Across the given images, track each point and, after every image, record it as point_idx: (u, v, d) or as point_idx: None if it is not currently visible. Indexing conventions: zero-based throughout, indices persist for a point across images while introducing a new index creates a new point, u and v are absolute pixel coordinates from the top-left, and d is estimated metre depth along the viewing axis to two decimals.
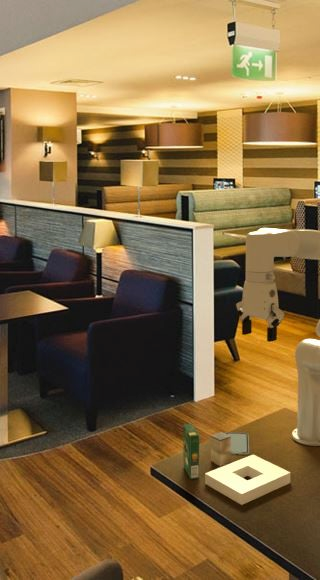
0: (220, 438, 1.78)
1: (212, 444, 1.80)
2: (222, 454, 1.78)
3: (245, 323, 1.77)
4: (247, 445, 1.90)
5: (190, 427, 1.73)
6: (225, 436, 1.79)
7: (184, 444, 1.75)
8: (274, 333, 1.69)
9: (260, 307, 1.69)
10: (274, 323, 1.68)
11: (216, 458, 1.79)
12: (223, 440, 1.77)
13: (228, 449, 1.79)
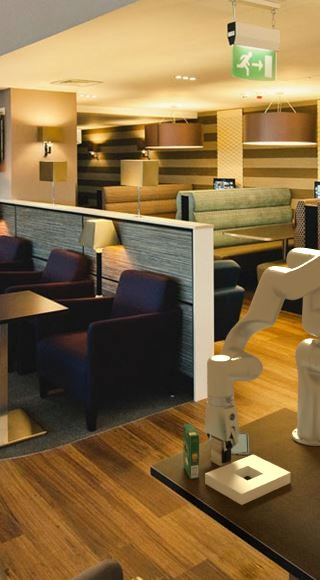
0: None
1: (212, 444, 1.80)
2: None
3: None
4: (247, 445, 1.90)
5: (190, 427, 1.73)
6: None
7: (184, 444, 1.75)
8: (228, 455, 1.78)
9: (221, 429, 1.75)
10: (228, 447, 1.76)
11: (216, 458, 1.79)
12: None
13: None
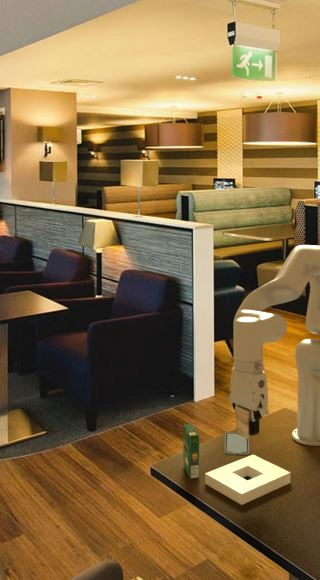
0: None
1: (238, 414, 1.64)
2: None
3: None
4: (247, 445, 1.90)
5: (190, 427, 1.73)
6: None
7: (184, 444, 1.75)
8: (256, 427, 1.62)
9: (249, 398, 1.60)
10: (256, 417, 1.61)
11: (243, 430, 1.63)
12: None
13: None
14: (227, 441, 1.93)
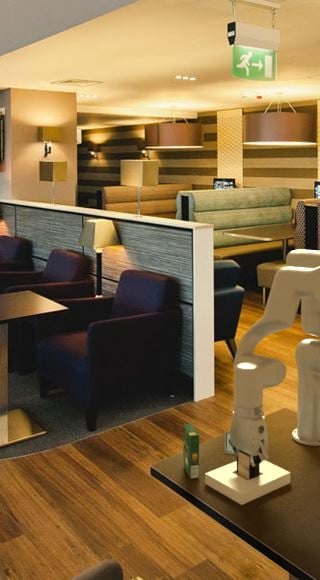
0: (249, 454, 1.65)
1: (239, 459, 1.67)
2: None
3: None
4: None
5: (190, 427, 1.73)
6: None
7: (184, 444, 1.75)
8: (256, 471, 1.64)
9: (249, 443, 1.62)
10: (256, 462, 1.63)
11: (244, 475, 1.66)
12: None
13: None
14: (227, 441, 1.93)
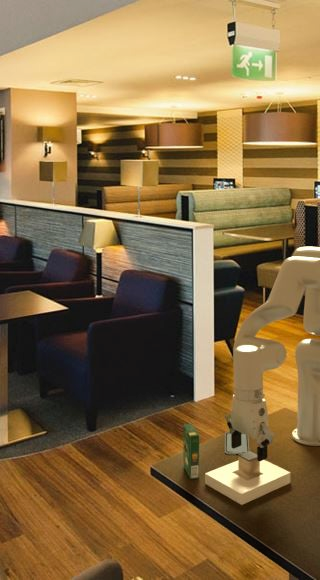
0: (249, 458, 1.65)
1: (239, 464, 1.67)
2: (251, 475, 1.65)
3: (234, 437, 1.69)
4: (247, 445, 1.90)
5: (190, 427, 1.73)
6: (254, 456, 1.66)
7: (184, 444, 1.75)
8: (264, 452, 1.62)
9: (249, 426, 1.61)
10: (264, 443, 1.60)
11: None
12: (252, 460, 1.65)
13: (257, 470, 1.66)
14: (227, 441, 1.93)
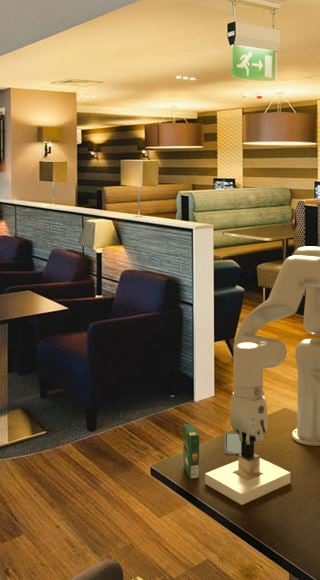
0: (248, 458, 1.65)
1: (239, 464, 1.67)
2: (251, 475, 1.65)
3: None
4: None
5: (190, 427, 1.73)
6: (254, 456, 1.66)
7: (184, 444, 1.75)
8: (251, 449, 1.65)
9: (248, 423, 1.61)
10: (251, 440, 1.63)
11: None
12: (252, 460, 1.65)
13: (257, 470, 1.66)
14: (227, 441, 1.93)
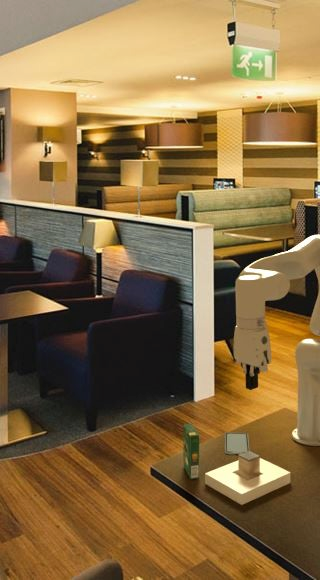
0: (249, 458, 1.65)
1: (239, 464, 1.67)
2: (251, 475, 1.65)
3: None
4: (247, 445, 1.90)
5: (190, 427, 1.73)
6: (254, 456, 1.66)
7: (184, 444, 1.75)
8: (255, 381, 1.67)
9: (252, 354, 1.63)
10: (255, 372, 1.65)
11: None
12: (252, 460, 1.65)
13: (257, 470, 1.66)
14: (227, 441, 1.93)
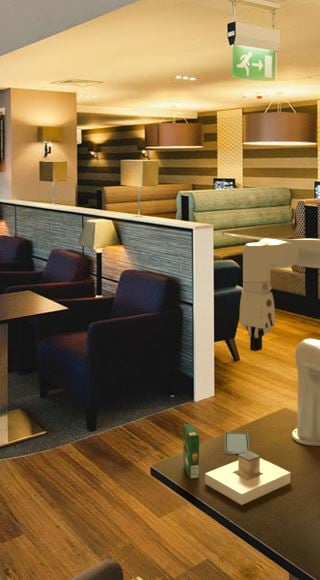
0: (249, 458, 1.65)
1: (239, 464, 1.67)
2: (251, 475, 1.65)
3: None
4: (247, 445, 1.90)
5: (190, 427, 1.73)
6: (254, 456, 1.66)
7: (184, 444, 1.75)
8: (259, 343, 1.77)
9: (257, 316, 1.73)
10: (259, 333, 1.76)
11: None
12: (252, 460, 1.65)
13: (257, 470, 1.66)
14: (227, 441, 1.93)
